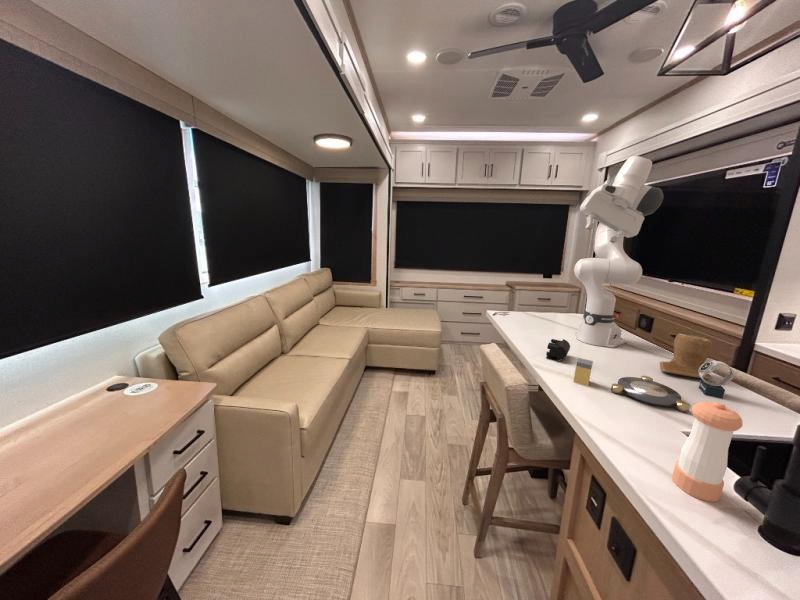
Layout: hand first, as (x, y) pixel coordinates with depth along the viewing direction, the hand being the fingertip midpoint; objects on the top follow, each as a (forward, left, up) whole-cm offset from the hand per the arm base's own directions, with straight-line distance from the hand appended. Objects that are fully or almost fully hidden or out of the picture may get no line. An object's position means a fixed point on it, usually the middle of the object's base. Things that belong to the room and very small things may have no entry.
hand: (600, 235), depth 105 cm
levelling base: (-5, +22, -49) cm, 54 cm away
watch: (-27, +28, -50) cm, 63 cm away
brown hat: (-36, +16, -50) cm, 64 cm away
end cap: (-3, -11, -50) cm, 51 cm away
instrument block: (+7, +7, -49) cm, 50 cm away
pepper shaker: (+27, +47, -50) cm, 73 cm away
